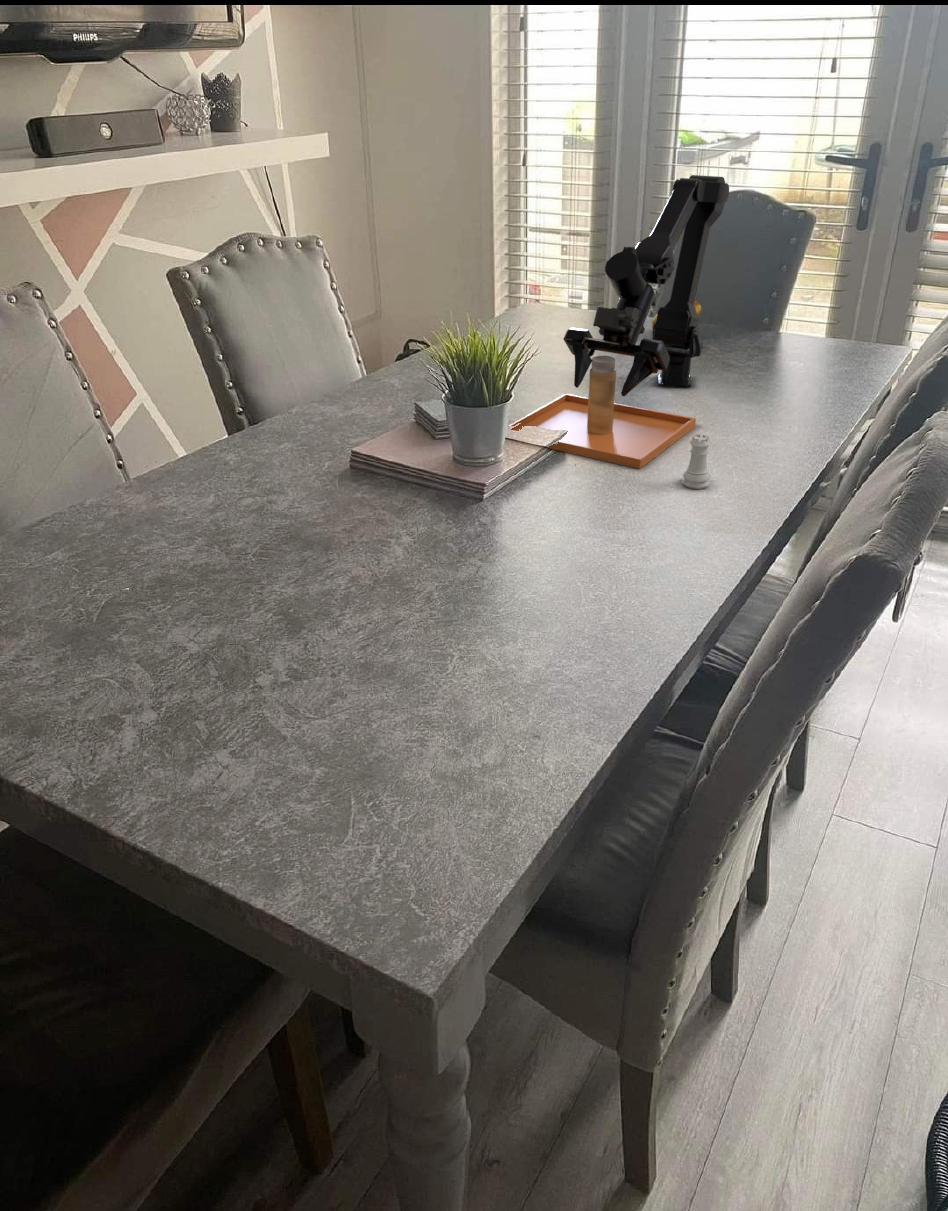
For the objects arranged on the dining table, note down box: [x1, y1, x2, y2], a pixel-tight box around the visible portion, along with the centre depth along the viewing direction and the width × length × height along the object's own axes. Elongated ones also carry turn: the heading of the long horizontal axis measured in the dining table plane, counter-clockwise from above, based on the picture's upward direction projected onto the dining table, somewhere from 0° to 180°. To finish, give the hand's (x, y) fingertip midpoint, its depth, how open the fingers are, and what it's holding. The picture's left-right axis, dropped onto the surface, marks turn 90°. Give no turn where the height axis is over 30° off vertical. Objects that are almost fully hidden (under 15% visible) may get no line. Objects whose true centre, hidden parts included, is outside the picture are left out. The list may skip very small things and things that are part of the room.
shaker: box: [587, 355, 617, 434], centre depth 170 cm, size 5×5×13 cm
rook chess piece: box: [681, 433, 712, 490], centre depth 151 cm, size 4×4×8 cm
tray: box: [509, 393, 697, 470], centre depth 174 cm, size 23×27×2 cm
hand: (598, 390), depth 169 cm, fingers open, 9 cm apart
